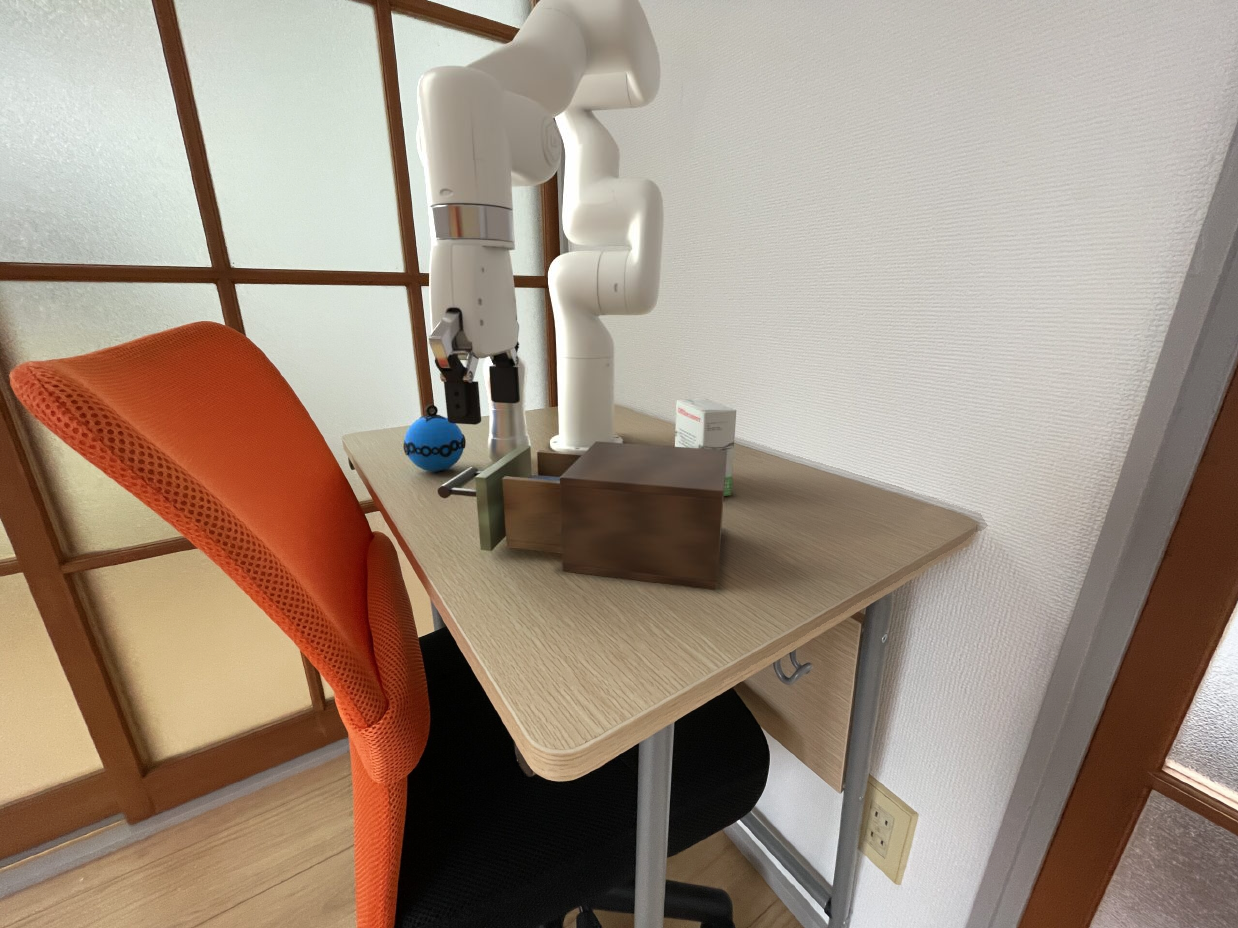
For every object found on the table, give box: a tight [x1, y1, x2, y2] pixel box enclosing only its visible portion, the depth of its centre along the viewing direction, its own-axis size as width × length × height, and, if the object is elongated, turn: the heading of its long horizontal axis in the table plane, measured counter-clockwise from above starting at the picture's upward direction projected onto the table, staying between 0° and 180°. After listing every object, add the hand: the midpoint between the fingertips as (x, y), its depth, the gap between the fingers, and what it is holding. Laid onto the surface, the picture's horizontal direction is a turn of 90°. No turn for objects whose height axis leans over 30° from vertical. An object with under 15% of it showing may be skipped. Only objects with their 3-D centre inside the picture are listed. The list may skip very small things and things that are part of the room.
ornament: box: [402, 404, 467, 473], centre depth 77 cm, size 9×9×10 cm
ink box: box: [674, 398, 737, 497], centre depth 71 cm, size 9×5×12 cm, turn 19°
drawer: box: [437, 445, 584, 554], centre depth 56 cm, size 19×11×8 cm, turn 77°
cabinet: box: [560, 441, 727, 591], centre depth 54 cm, size 15×13×10 cm
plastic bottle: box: [482, 350, 532, 464], centre depth 80 cm, size 6×7×20 cm
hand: (486, 411), depth 55 cm, fingers open, 9 cm apart
